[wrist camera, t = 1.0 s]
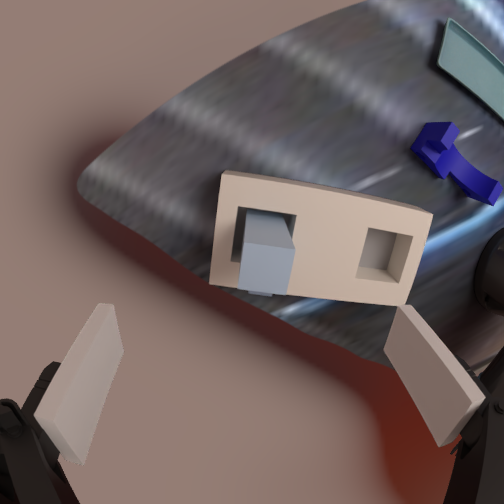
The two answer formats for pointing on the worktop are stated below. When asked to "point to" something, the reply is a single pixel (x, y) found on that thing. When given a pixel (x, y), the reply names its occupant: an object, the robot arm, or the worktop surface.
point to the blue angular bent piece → (453, 162)
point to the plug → (265, 254)
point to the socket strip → (325, 238)
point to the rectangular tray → (472, 66)
